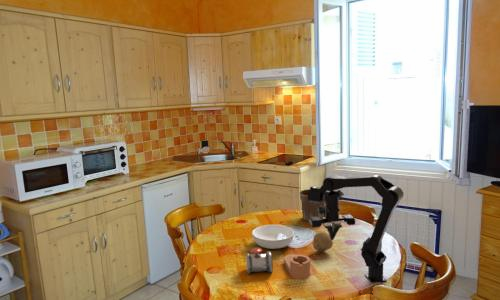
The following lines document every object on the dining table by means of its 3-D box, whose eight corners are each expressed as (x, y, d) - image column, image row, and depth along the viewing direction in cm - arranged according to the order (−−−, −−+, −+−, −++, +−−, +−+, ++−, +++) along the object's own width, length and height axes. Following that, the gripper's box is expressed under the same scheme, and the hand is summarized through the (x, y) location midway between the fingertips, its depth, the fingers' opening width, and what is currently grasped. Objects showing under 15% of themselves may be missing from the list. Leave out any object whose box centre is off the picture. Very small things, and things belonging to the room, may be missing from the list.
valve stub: (270, 266, 162) (269, 244, 161) (273, 275, 154) (272, 253, 152) (246, 268, 161) (245, 246, 160) (248, 277, 153) (247, 255, 151)
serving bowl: (289, 256, 171) (288, 242, 170) (246, 251, 178) (246, 237, 176) (298, 238, 190) (297, 226, 189) (259, 234, 197) (259, 222, 196)
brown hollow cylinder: (312, 278, 150) (312, 262, 149) (293, 280, 149) (292, 264, 148) (300, 259, 168) (299, 244, 167) (282, 260, 167) (282, 246, 165)
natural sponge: (335, 250, 175) (335, 230, 173) (328, 257, 168) (328, 237, 166) (317, 246, 180) (317, 227, 178) (310, 253, 173) (309, 233, 171)
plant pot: (311, 212, 230) (311, 187, 227) (332, 218, 218) (332, 192, 215) (293, 218, 220) (293, 192, 217) (314, 225, 207) (314, 198, 205)
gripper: (346, 198, 164) (346, 231, 167) (305, 200, 163) (306, 234, 165) (356, 205, 153) (355, 241, 156) (312, 208, 152) (312, 244, 154)
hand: (332, 239), depth 158 cm, fingers closed
